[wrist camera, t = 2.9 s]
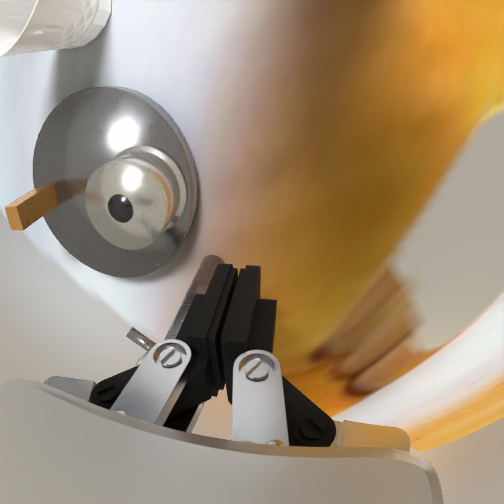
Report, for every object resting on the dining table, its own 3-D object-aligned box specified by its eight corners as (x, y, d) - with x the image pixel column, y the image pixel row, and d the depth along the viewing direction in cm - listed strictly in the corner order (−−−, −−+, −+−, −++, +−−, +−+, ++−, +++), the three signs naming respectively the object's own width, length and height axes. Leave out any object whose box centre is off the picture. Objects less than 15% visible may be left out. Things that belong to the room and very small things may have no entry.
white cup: (81, 66, 18) (2, 74, 10) (49, 33, 16) (-22, 37, 7) (132, 3, 15) (57, -21, 7) (92, -25, 12) (24, -42, 4)
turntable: (191, 68, 18) (145, 60, 11) (206, 274, 28) (183, 328, 21) (33, 111, 20) (-18, 127, 14) (67, 260, 30) (33, 295, 24)
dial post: (237, 272, 28) (194, 417, 15) (223, 284, 29) (176, 422, 16) (191, 234, 27) (110, 368, 13) (178, 249, 28) (101, 378, 14)
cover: (183, 140, 19) (160, 152, 16) (192, 231, 23) (174, 258, 20) (102, 149, 20) (72, 162, 17) (117, 228, 24) (94, 251, 21)
